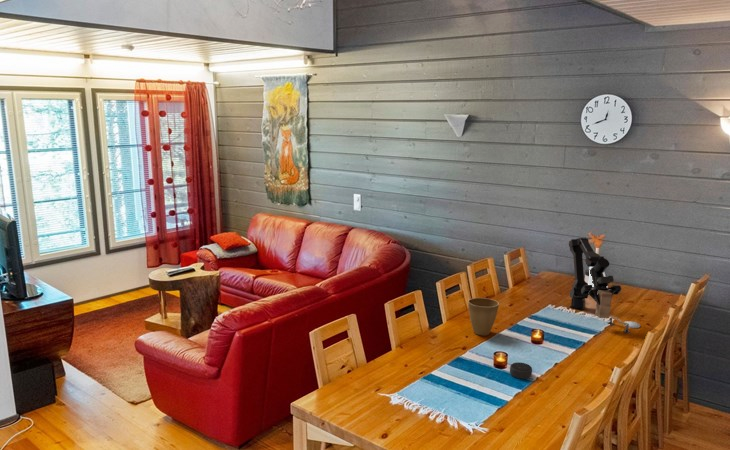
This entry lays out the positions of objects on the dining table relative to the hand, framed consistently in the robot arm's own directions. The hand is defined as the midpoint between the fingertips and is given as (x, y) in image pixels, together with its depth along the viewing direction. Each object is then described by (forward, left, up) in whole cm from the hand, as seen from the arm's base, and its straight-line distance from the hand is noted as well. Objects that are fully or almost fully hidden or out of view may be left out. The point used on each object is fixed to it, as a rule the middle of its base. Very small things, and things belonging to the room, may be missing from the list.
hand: (604, 304), depth 296 cm
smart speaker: (-2, -77, -14) cm, 78 cm away
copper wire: (+5, +9, -13) cm, 17 cm away
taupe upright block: (-1, +1, -7) cm, 7 cm away
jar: (-34, +64, -14) cm, 74 cm away
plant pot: (-40, -48, -14) cm, 64 cm away
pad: (+8, +18, -13) cm, 24 cm away
